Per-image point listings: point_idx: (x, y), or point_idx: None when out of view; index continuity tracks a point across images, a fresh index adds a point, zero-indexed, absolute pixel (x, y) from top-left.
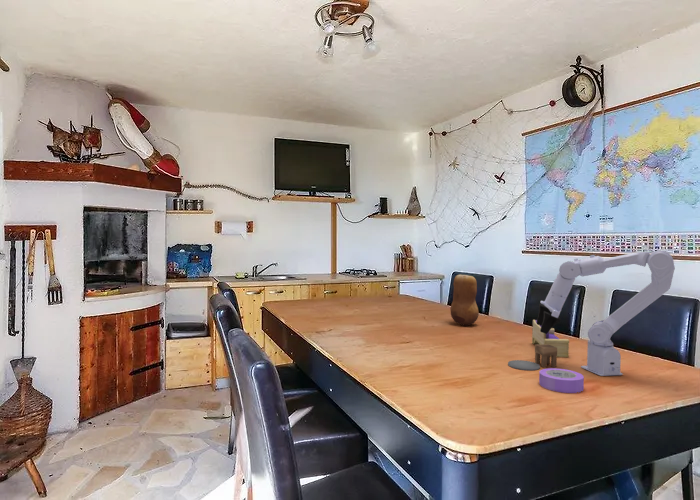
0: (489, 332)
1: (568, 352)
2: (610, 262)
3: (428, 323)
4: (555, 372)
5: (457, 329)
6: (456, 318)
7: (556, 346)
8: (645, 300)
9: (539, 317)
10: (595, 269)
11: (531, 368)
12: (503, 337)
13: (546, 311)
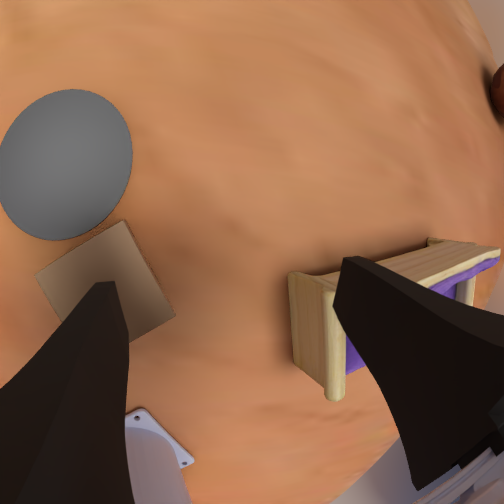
0: (476, 133)
1: (305, 372)
2: None
3: (470, 27)
4: None
5: (466, 63)
6: (498, 74)
7: (317, 337)
8: None
9: (394, 301)
10: None
11: (2, 198)
12: (457, 157)
13: (440, 410)
